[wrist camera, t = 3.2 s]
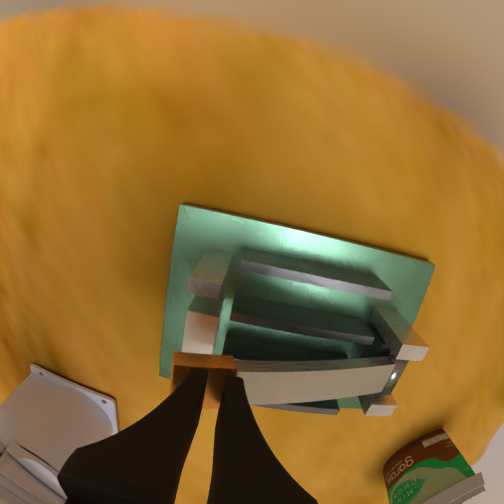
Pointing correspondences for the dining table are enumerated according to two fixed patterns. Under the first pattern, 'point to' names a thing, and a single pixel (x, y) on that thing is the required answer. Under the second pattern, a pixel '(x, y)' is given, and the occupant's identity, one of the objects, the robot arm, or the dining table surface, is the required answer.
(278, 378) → the grey and orange bar
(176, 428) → the robot arm
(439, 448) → the food container
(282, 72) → the dining table surface
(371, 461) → the dining table surface
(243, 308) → the green base metal fixture
